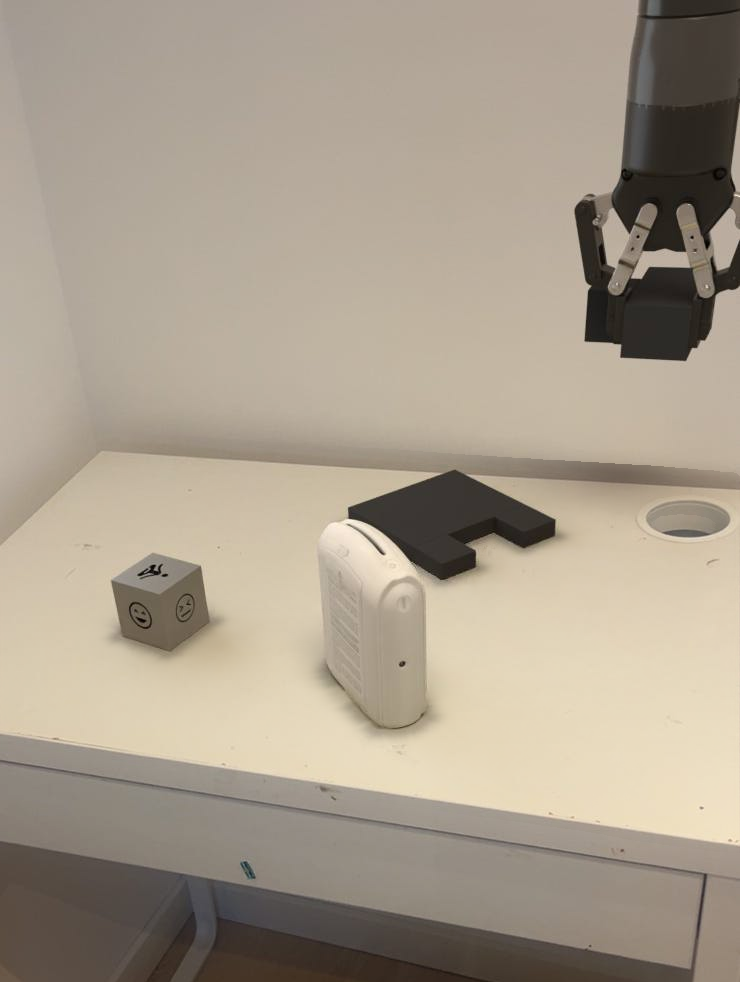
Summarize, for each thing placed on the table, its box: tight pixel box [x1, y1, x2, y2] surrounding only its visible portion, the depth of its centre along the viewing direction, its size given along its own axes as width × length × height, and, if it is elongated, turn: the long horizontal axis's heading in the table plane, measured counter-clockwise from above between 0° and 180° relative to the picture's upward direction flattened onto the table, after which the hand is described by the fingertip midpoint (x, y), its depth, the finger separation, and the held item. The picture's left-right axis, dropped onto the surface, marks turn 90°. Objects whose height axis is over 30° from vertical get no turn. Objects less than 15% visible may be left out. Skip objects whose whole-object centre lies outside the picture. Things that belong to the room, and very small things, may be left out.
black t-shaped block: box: [583, 266, 697, 362], centre depth 93 cm, size 10×8×4 cm
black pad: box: [347, 469, 557, 581], centre depth 102 cm, size 12×14×2 cm
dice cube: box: [110, 552, 210, 652], centre depth 92 cm, size 5×5×5 cm
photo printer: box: [317, 518, 428, 729], centre depth 80 cm, size 10×4×12 cm, turn 23°
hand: (657, 342), depth 90 cm, fingers closed on black t-shaped block, 5 cm apart
